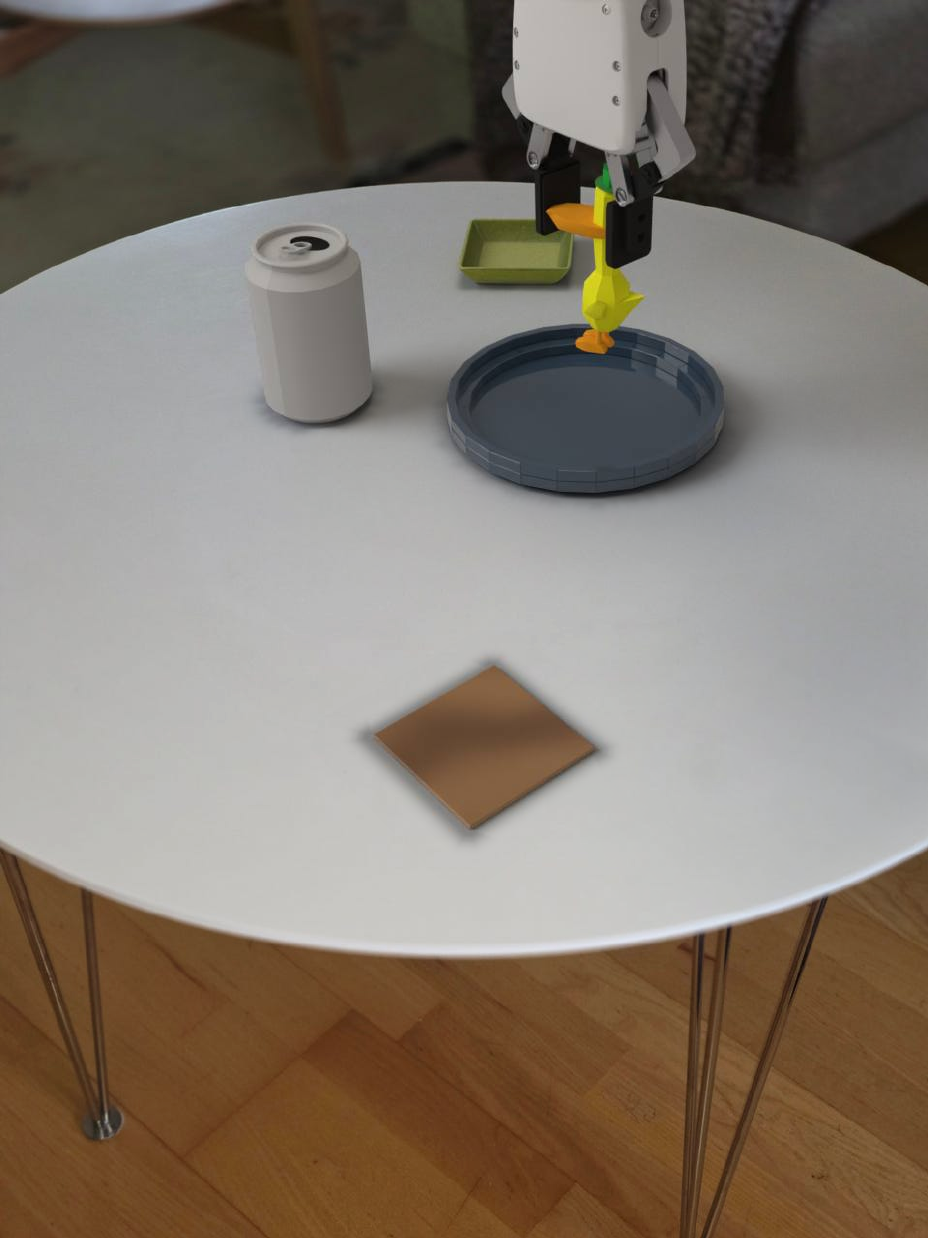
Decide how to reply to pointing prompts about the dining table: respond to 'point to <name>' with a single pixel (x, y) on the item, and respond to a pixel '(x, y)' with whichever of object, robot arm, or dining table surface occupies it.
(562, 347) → the plate
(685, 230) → the dining table surface
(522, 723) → the coaster
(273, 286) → the can
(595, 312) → the toy figure
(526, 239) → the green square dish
